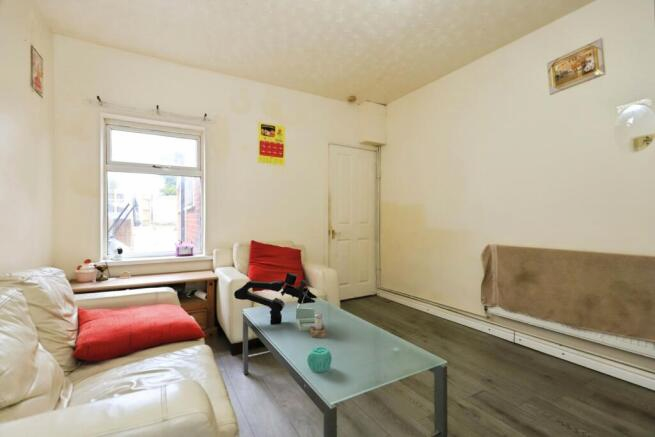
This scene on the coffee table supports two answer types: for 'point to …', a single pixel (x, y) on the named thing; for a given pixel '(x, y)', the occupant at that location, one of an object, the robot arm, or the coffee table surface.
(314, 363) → the decorative dice
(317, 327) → the ball
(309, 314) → the right angle wall
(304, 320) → the parts tray
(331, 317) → the coffee table surface
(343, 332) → the coffee table surface
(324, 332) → the tan square frame block
